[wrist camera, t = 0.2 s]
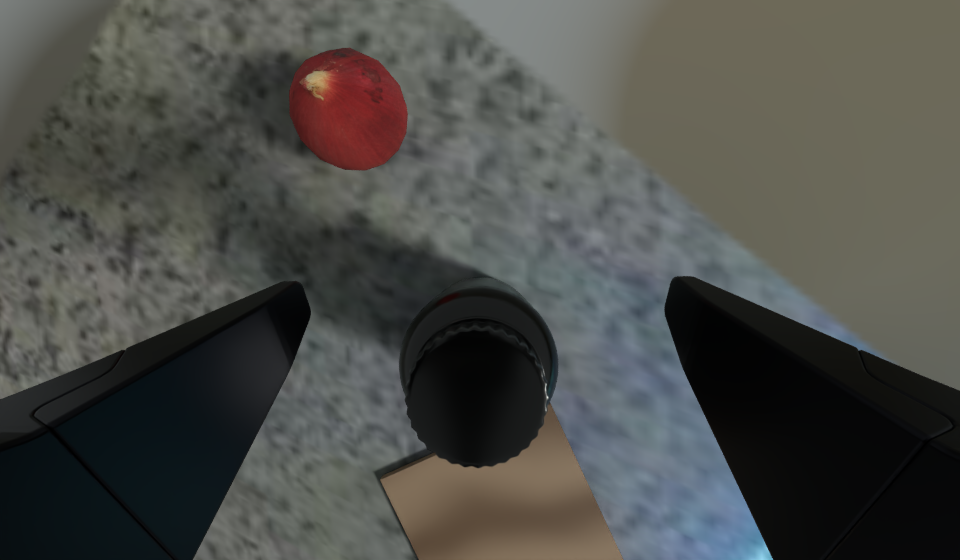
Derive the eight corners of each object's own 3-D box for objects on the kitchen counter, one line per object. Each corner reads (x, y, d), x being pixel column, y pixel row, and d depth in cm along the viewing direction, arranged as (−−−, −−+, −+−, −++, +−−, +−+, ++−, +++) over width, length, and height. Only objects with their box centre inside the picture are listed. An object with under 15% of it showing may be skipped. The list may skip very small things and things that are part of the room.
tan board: (625, 565, 25) (628, 571, 24) (460, 635, 25) (459, 642, 25) (549, 401, 24) (550, 403, 24) (382, 475, 25) (380, 480, 24)
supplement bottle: (418, 369, 24) (349, 473, 12) (440, 266, 24) (392, 271, 12) (522, 392, 24) (553, 520, 12) (546, 289, 24) (602, 318, 12)
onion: (348, 74, 24) (276, -22, 16) (432, 110, 24) (404, 33, 16) (313, 161, 24) (226, 110, 16) (397, 197, 24) (351, 165, 16)
